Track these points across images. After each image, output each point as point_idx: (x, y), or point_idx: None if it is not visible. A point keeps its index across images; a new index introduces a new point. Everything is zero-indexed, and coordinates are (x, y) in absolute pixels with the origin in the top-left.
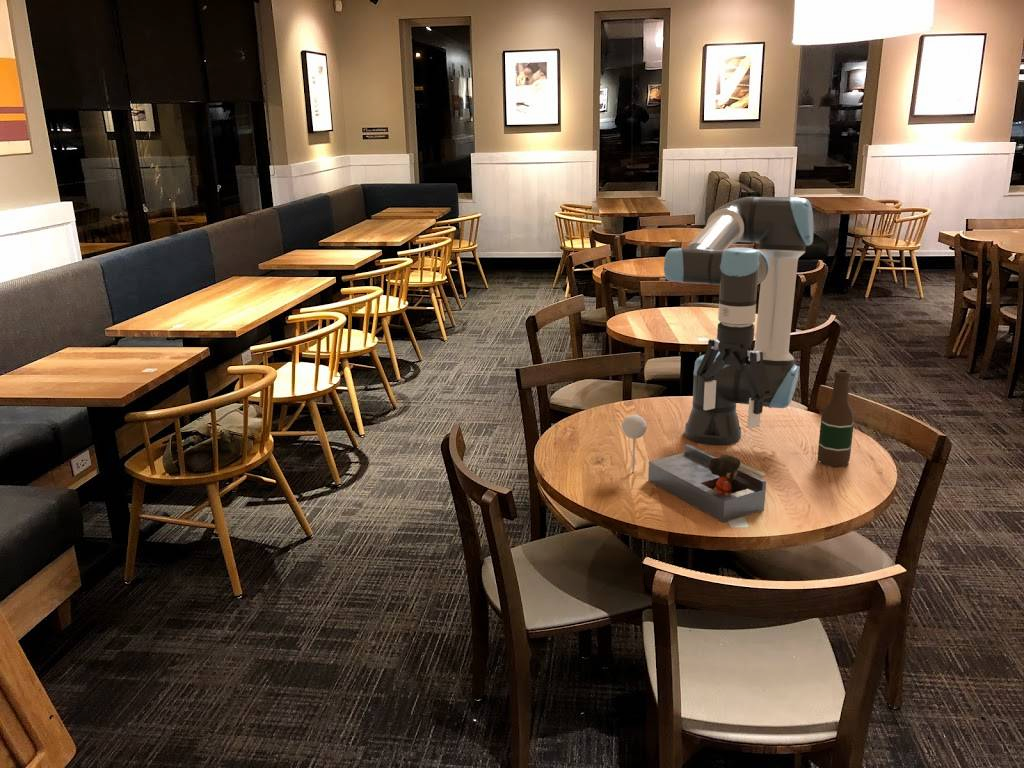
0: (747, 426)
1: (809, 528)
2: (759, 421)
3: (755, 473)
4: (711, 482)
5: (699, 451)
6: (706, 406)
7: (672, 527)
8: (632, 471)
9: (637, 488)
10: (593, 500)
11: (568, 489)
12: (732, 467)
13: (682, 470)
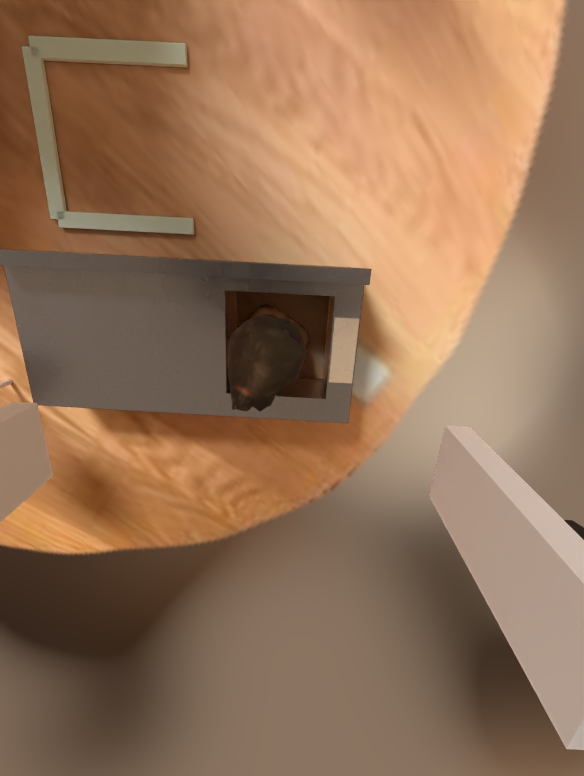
0: (432, 501)
1: (496, 253)
2: (486, 446)
3: (158, 65)
4: (227, 349)
5: (55, 265)
6: (33, 489)
7: (294, 491)
8: (8, 384)
9: (101, 432)
10: (117, 531)
11: (49, 539)
12: (299, 368)
13: (130, 372)
